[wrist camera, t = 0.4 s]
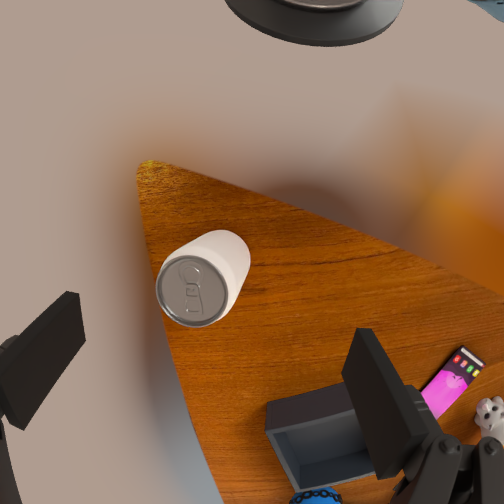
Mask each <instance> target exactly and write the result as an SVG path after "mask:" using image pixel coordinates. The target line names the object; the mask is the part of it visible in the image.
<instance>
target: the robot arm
mask: <svg viewBox="0 0 504 504" xmlns="http://www.w3.org/2000/svg"><path fill="white" fill-rule="evenodd" d="M273 1H275V2H277V3H279V4H282V5H284V6H287V7H290V8H293V9H297V10H301V11H306V12H314V13H336V12H342V11H347V10H350V9H353V8H356V7H358V6H360V5H361V4H363V3H364V2H366V1H367V0H273ZM468 1H470V2H472V3H475V4H477V5H478V6H479V7H481V8H482V9H484V10H485V11H486V12H488V13H489V14H490V15H492V16H493V17H494V18H496V19H497V20H499V21H502V22H504V0H468ZM85 341H86V339H85V333H84V326H83V320H82V313H81V306H80V297H79V293H74V292H69V291H66V292H65V293H64V294H62V295H61V296H60V297H59V298H58V299H57V300H56V301H55V302H54V303H53V304H51V305H50V306H49V307H48V308H47V309H46V310H45V311H44V312H43V313H42V314H41V315H40V316H39V317H37V318H36V319H35V320H34V321H33V322H32V323H31V324H30V325H29V326H28V327H27V328H26V329H25V330H24V331H23V332H22V333H21V334H20V335H19V336H18V335H14V336H13V337H11V338H9V339H7V340H6V341H5V342H4V343H2V344H1V346H0V504H22V501H21V498H20V495H19V492H18V488H17V485H16V481H15V478H14V474H13V470H12V466H11V461H10V457H9V452H8V447H7V443H6V437H5V431H4V426H3V423H2V420H1V418H2V417H3V415H4V414H5V416H6V418H7V420H8V421H9V423H10V424H11V425H13V426H15V427H17V428H19V429H21V430H23V431H24V430H25V428H26V427H27V425H28V423H29V422H30V420H31V418H32V417H33V416H34V414H35V413H36V411H37V410H38V408H39V406H40V405H41V404H42V402H43V400H44V399H45V398H46V396H47V395H48V393H49V392H50V390H51V389H52V387H53V386H54V384H55V383H56V381H57V380H58V379H59V377H60V376H61V374H62V373H63V372H64V370H65V369H66V367H67V366H68V365H69V363H70V361H71V360H72V359H73V358H74V356H75V355H76V354H77V352H78V351H79V349H80V348H81V347H82V345H83V344H84V343H85ZM341 374H342V377H343V379H344V382H345V385H346V388H347V391H348V393H349V396H350V399H351V402H352V405H353V408H354V410H355V413H356V416H357V419H358V422H359V425H360V428H361V431H362V434H363V437H364V440H365V443H366V446H367V449H368V452H369V455H370V458H371V461H372V464H373V467H374V470H375V473H376V476H377V479H378V480H381V479H387V478H392V477H396V475H397V474H398V473H399V472H400V471H401V470H402V468H403V471H404V474H405V476H404V477H403V479H402V480H401V481H400V482H399V483H398V484H397V485H396V486H395V487H394V489H393V490H396V489H397V490H396V492H395V494H394V496H393V497H392V499H391V501H390V503H389V504H504V448H503V445H502V444H501V442H500V441H499V440H497V439H496V438H494V437H491V436H486V437H484V438H482V439H481V440H480V441H479V443H478V444H477V445H462V444H461V442H460V441H459V440H458V439H457V438H456V437H454V436H452V435H449V434H444V433H443V431H442V429H441V428H440V426H439V424H438V422H437V420H436V419H435V417H434V415H433V413H432V412H431V410H429V406H428V405H427V403H425V400H424V398H423V396H422V394H421V393H420V392H419V391H418V390H417V389H416V388H415V387H414V386H412V385H404V384H403V382H402V380H401V378H400V377H399V375H398V373H397V371H396V370H395V368H394V366H393V364H392V363H391V361H390V359H389V358H388V356H387V354H386V352H385V351H384V349H383V347H382V346H381V344H380V342H379V341H378V339H377V337H376V336H375V334H374V332H373V331H372V329H370V328H357V329H356V332H355V335H354V338H353V341H352V344H351V347H350V350H349V353H348V356H347V358H346V361H345V364H344V367H343V370H342V372H341Z"/></svg>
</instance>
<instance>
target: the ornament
mask: <svg viewBox="0 0 504 504" xmlns="http://www.w3.org/2000/svg"><path fill="white" fill-rule="evenodd" d="M289 504H342V497H341V495H340V494H337V492H336V491H335V490H334V489H332V488H331V487H324V488H319V489H315V490H309V491H304V492H298V493H295V495H294V496H293V497H292V499H291V500H290V502H289Z"/></svg>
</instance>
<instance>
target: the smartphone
mask: <svg viewBox="0 0 504 504" xmlns="http://www.w3.org/2000/svg"><path fill="white" fill-rule="evenodd" d="M485 365H486V363H485V362H483V361H482V360H481V359H480V358H479V357H477V356H476V355H475V354H474V353H472V352H471V351H470V350H469V349H468V348H466V347H465V346H464V345H461V346H460V347H459V348H458V350H457V351H456V352H455V353H454V355H453V356H452V357H451V358H450V360H449V361H448V362H447V363H446V364H445V366H444V367H443V368H442V369H441V370H440V371H439V372H438V374H437V375H436V376H435V377H434V378H433V379H432V380H431V382H430V383H429V384H428V385H427V386H426V387H425V388H424V389H423V390H422V391H421V392H420V393H421V394H422V396H423V398H424V400H425V403H427V405H428V406H429V410H431V412H432V413H433V415H434V417H435V419H436V420H437V419H438V418H439V417H440V416H441V415H442V414H443V413H444V412H445V411H446V410H447V409H448V408H449V407H450V406H451V404H452V403H453V402H454V401H455V400H456V399H457V398H458V397H459V396H460V395H461V394H462V393H463V391H464V390H465V389H466V388H467V387H468V386H469V385H470V383H471V382H472V381H473V380H474V379H475V378H476V376H477V375H478V374H479V373H480V371H481V370H482V369H483V368H484V367H485Z"/></svg>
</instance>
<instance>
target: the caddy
mask: <svg viewBox="0 0 504 504" xmlns="http://www.w3.org/2000/svg"><path fill="white" fill-rule="evenodd" d="M265 433H266V435H267V437H268V439H269V441H270V443H271V445H272V447H273V449H274V451H275V453H276V455H277V457H278V459H279V461H280V463H281V465H282V467H283V469H284V471H285V473H286V475H287V477H288V479H289V480H290V482H291V484H292V486H293V488H294V490H295V492H296V493H298V492H304V491H309V490H315V489H319V488H324V487H329V486H333V485H337V484H341V483H345V482H349V481H353V480H356V479H360V478H363V477H367V476H370V475H373V474H376V473H375V470H374V467H373V464H372V461H371V458H370V455H369V452H368V449H367V446H366V443H365V440H364V437H363V434H362V431H361V428H360V425H359V422H358V419H357V416H356V413H355V410H354V408H353V405H352V402H351V399H350V396H349V393H348V391H347V388H346V385H345V382H342V383H339V384H335V385H332V386H329V387H325V388H322V389H318V390H314V391H311V392H307V393H303V394H299V395H295V396H291V397H287V398H283V399H279V400H274V401H270V402H267V412H266V422H265Z"/></svg>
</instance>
